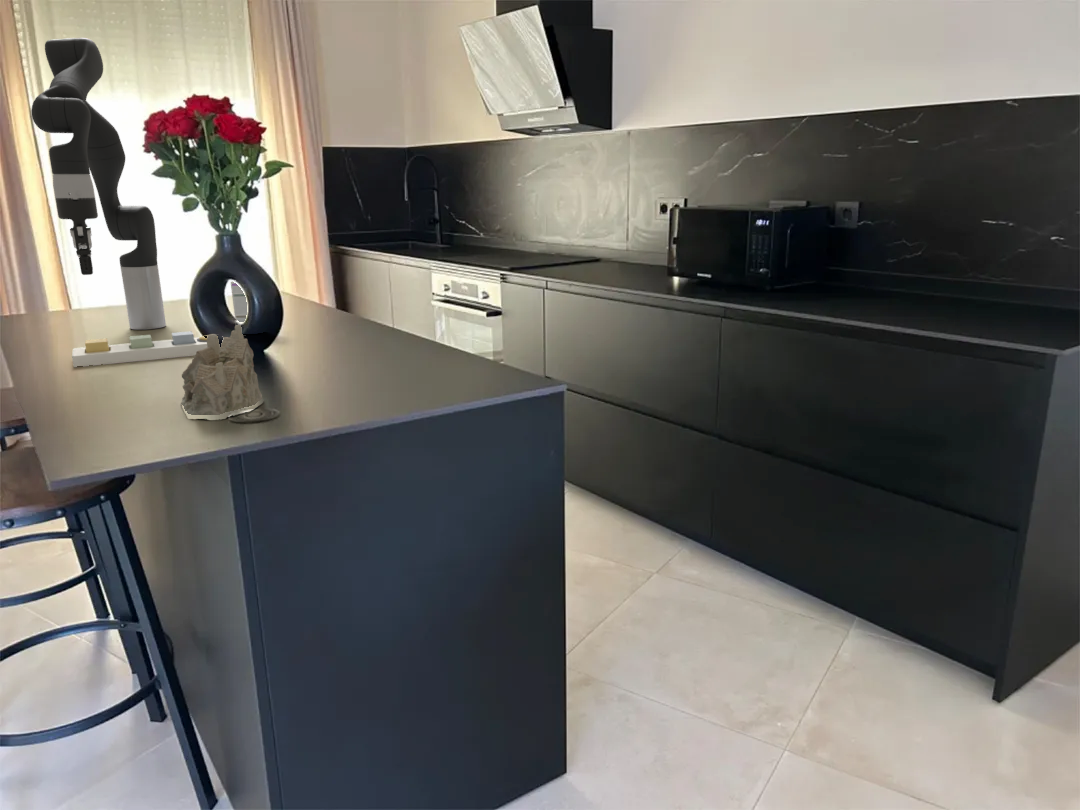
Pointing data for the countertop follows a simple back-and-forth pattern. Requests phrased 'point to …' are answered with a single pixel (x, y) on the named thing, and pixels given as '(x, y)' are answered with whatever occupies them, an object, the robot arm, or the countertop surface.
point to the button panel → (137, 352)
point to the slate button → (183, 338)
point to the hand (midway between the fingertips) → (87, 272)
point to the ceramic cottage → (221, 377)
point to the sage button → (141, 341)
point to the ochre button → (96, 345)
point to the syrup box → (239, 302)
